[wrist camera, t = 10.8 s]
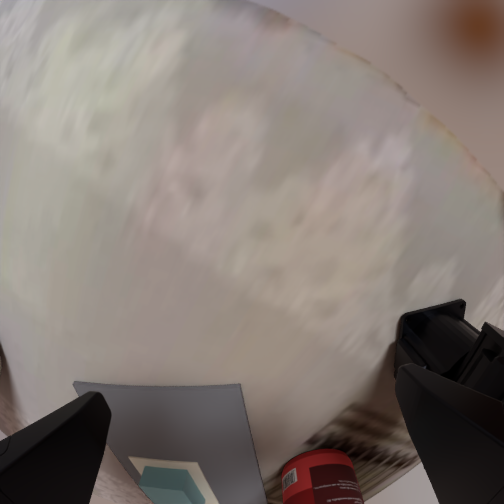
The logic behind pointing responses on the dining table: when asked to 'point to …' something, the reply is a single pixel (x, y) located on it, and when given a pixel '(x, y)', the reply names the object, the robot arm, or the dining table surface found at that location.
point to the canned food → (320, 479)
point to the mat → (185, 436)
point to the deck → (170, 486)
